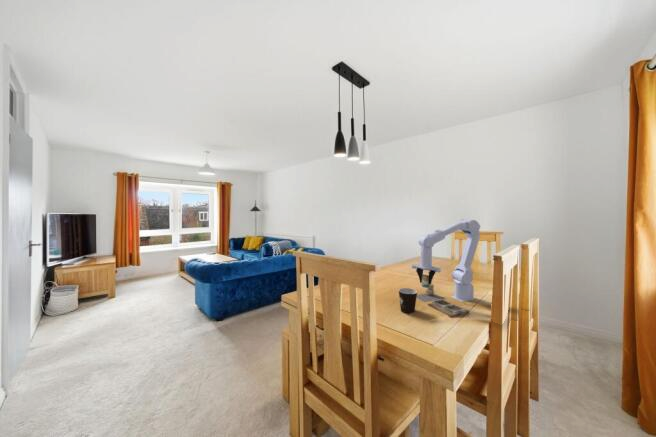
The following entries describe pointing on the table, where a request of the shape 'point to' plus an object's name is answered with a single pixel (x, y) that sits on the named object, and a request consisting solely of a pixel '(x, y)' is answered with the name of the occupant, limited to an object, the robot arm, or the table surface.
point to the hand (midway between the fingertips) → (425, 283)
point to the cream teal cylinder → (425, 281)
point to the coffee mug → (407, 300)
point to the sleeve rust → (430, 290)
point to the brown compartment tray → (448, 308)
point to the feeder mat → (428, 297)
